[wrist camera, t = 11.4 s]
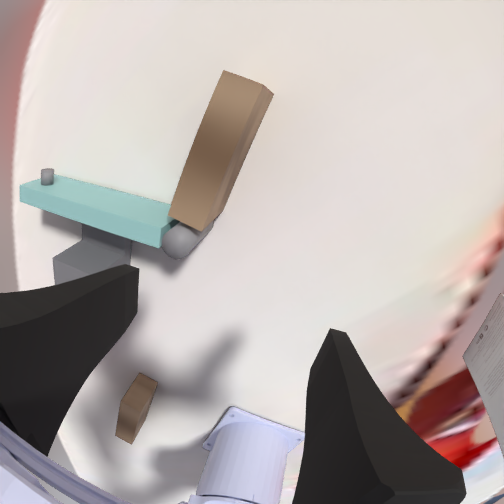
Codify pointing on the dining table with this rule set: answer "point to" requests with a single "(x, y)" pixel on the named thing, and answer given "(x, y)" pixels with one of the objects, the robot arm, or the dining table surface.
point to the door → (113, 212)
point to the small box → (490, 366)
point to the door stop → (91, 255)
